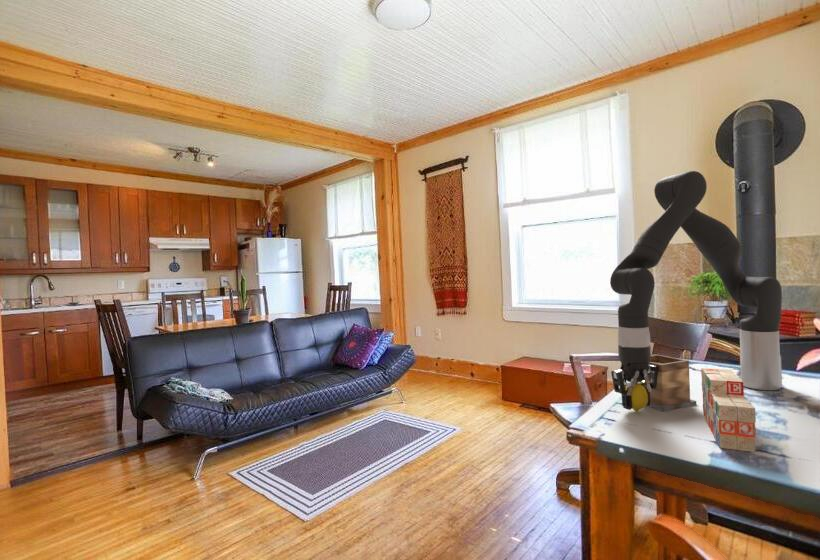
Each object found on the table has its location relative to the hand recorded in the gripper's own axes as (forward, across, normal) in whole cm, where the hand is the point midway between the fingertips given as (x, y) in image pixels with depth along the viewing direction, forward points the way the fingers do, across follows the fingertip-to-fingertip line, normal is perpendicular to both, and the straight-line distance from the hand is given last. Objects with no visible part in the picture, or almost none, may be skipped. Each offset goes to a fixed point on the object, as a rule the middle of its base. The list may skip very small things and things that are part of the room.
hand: (636, 406), depth 111 cm
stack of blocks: (+2, -7, +18) cm, 20 cm away
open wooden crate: (+1, -12, -3) cm, 12 cm away
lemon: (+1, 0, 0) cm, 1 cm away
